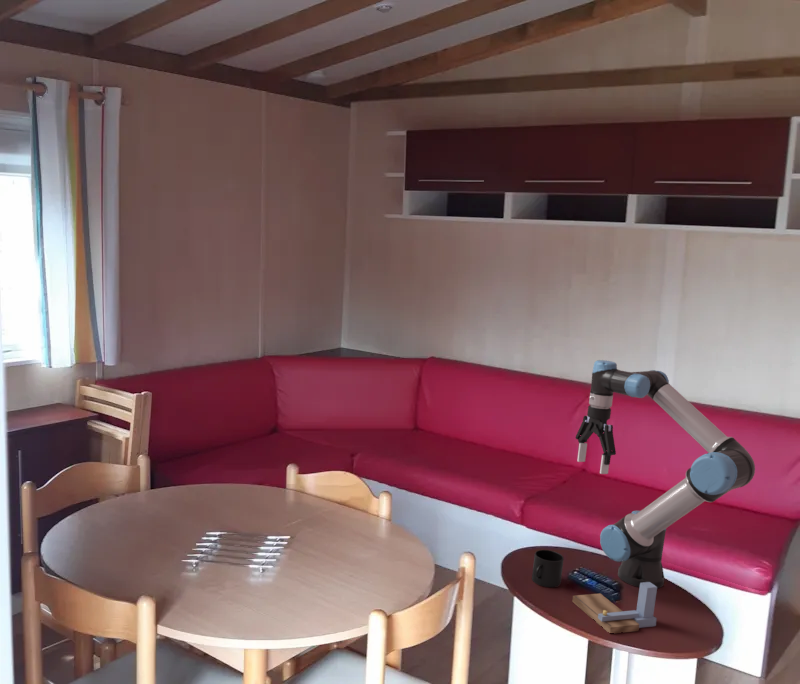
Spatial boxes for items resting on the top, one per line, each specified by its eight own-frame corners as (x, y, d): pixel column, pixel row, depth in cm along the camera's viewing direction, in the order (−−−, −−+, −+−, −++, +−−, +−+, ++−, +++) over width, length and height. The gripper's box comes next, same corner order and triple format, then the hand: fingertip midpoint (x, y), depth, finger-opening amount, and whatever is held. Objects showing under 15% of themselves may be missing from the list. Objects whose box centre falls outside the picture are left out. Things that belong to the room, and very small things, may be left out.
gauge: (645, 617, 236) (650, 580, 234) (655, 626, 231) (660, 588, 230) (594, 623, 230) (599, 584, 228) (603, 631, 225) (608, 592, 223)
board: (599, 599, 246) (600, 593, 246) (638, 630, 227) (639, 624, 227) (572, 601, 242) (573, 595, 242) (609, 633, 224) (610, 627, 223)
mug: (522, 582, 253) (525, 556, 252) (541, 572, 262) (544, 547, 261) (547, 592, 247) (550, 566, 246) (565, 582, 256) (569, 556, 255)
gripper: (570, 398, 270) (563, 456, 273) (612, 415, 247) (604, 479, 250) (588, 398, 273) (581, 456, 275) (632, 415, 250) (623, 478, 252)
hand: (592, 467), depth 263 cm, fingers open, 13 cm apart
